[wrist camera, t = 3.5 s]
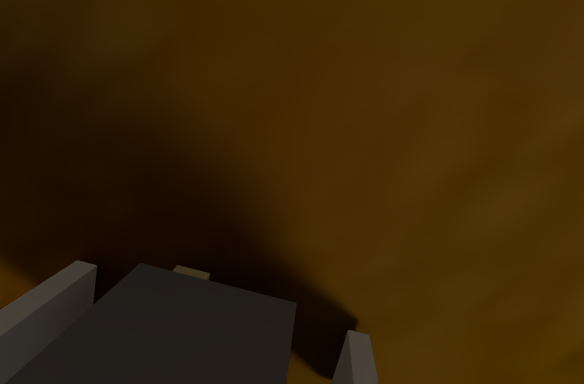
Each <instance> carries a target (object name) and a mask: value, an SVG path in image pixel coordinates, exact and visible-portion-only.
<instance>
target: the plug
mask: <svg viewBox="0 0 584 384" xmlns="http://www.w3.org/2000/svg"><path fill="white" fill-rule="evenodd" d="M209 278H210V273H207V272H203V271H199V270H195V269H191V268H187V267H183V266H179V265H177V266H176V267H175V269H174V270H173V271H170V270H166V269H162V268H159V267H155V266H151V265H147V264H143V263H140V264H139V265H138V266H136V267H135V268H134V269H133V270H132V271H131V272H130V273H129V274H127V275H126V276H125V277H124V278H123V279H122V280H121V281H120V282H118V283H117V284H116V285H115V286H114V287H113V288H112V289H111V290H109V291H108V292H107V293H106V294H105V295H104V296H103V297H102V298H100V299H99V300H98V301H97V302H96V303H95V304H94V305H93V306H91V307H90V308H89V309H88V310H87V311H86V312H85V313H84V314H82V315H81V316H80V317H79V318H78V319H77V320H76V321H75V322H73V323H72V324H71V325H70V326H69V327H68V328H67V329H66V330H64V331H63V332H62V333H61V334H60V335H59V336H58V337H57V338H55V339H54V340H53V341H52V342H51V343H50V344H49V345H48V346H46V347H45V348H44V349H43V350H42V351H41V352H40V353H39V354H37V355H36V356H35V357H34V358H33V359H32V360H31V361H30V362H28V363H27V364H26V365H25V366H24V367H23V368H22V369H21V370H19V371H18V372H17V373H16V374H15V375H14V376H13V377H12V378H10V379H9V380H8V381H7V382H6V383H5V384H286V379H287V372H288V364H289V357H290V349H291V342H292V335H293V327H294V320H295V312H296V305H297V303H295V302H291V301H287V300H283V299H280V298H276V297H272V296H268V295H264V294H260V293H256V292H252V291H248V290H244V289H241V288H237V287H233V286H229V285H225V284H221V283H217V282H213V281H209Z"/></svg>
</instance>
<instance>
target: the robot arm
mask: <svg viewBox="0 0 584 384" xmlns="http://www.w3.org/2000/svg"><path fill="white" fill-rule="evenodd" d="M96 273H97V265H94V264H90V263H86V262H82V261H78V260H77V261H75V262H74V263H72V264H70V265H69V266H67V267H66V268H64V269H63V270H61V271H60V272H58V273H57V274H55V275H53V276H52V277H50V278H49V279H47V280H46V281H44V282H43V283H41V284H40V285H38V286H36V287H35V288H33V289H32V290H30V291H29V292H27V293H26V294H24V295H22V296H21V297H19V298H18V299H16V300H15V301H13V302H12V303H10V304H9V305H7V306H5V307H4V308H2V309H1V310H0V384H5V383H6V382H7V381H8V380H9V379H10V378H12V377H13V376H14V375H15V374H16V373H17V372H18V371H19V370H21V369H22V368H23V367H24V366H25V365H26V364H27V363H28V362H30V361H31V360H32V359H33V358H34V357H35V356H36V355H37V354H39V353H40V352H41V351H42V350H43V349H44V348H45V347H46V346H48V345H49V344H50V343H51V342H52V341H53V340H54V339H55V338H57V337H58V336H59V335H60V334H61V333H62V332H63V331H64V330H66V329H67V328H68V327H69V326H70V325H71V324H72V323H73V322H75V321H76V320H77V319H78V318H79V317H80V316H81V315H82V314H84V313H85V312H86V311H87V310H88V309H89V308H90V307H91V306H93V300H94V291H95V282H96ZM331 384H378V379H377V373H376V368H375V363H374V358H373V353H372V347H371V342H370V337H369V335H367V334H363V333H360V332H356V331H352V330H348V331H347V335H346V338H345V341H344V344H343V348H342V351H341V354H340V357H339V360H338V364H337V367H336V370H335V373H334V376H333V380H332V383H331Z"/></svg>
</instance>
